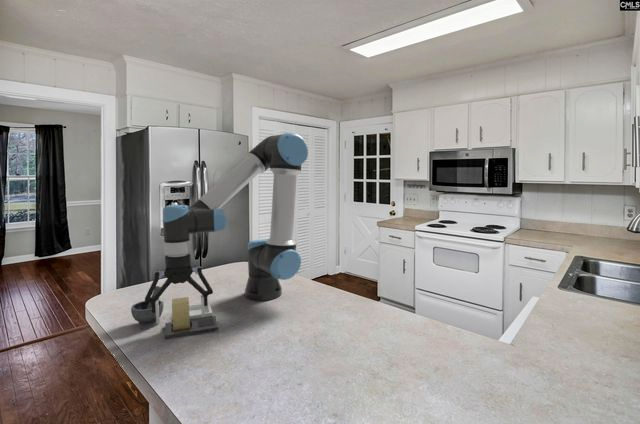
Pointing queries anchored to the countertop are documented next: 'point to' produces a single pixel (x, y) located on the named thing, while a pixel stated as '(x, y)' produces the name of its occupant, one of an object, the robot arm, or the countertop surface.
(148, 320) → the mortar and pestle
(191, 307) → the white tray
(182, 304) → the brass block
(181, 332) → the dark grey flat slab
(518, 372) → the countertop surface
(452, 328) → the countertop surface
